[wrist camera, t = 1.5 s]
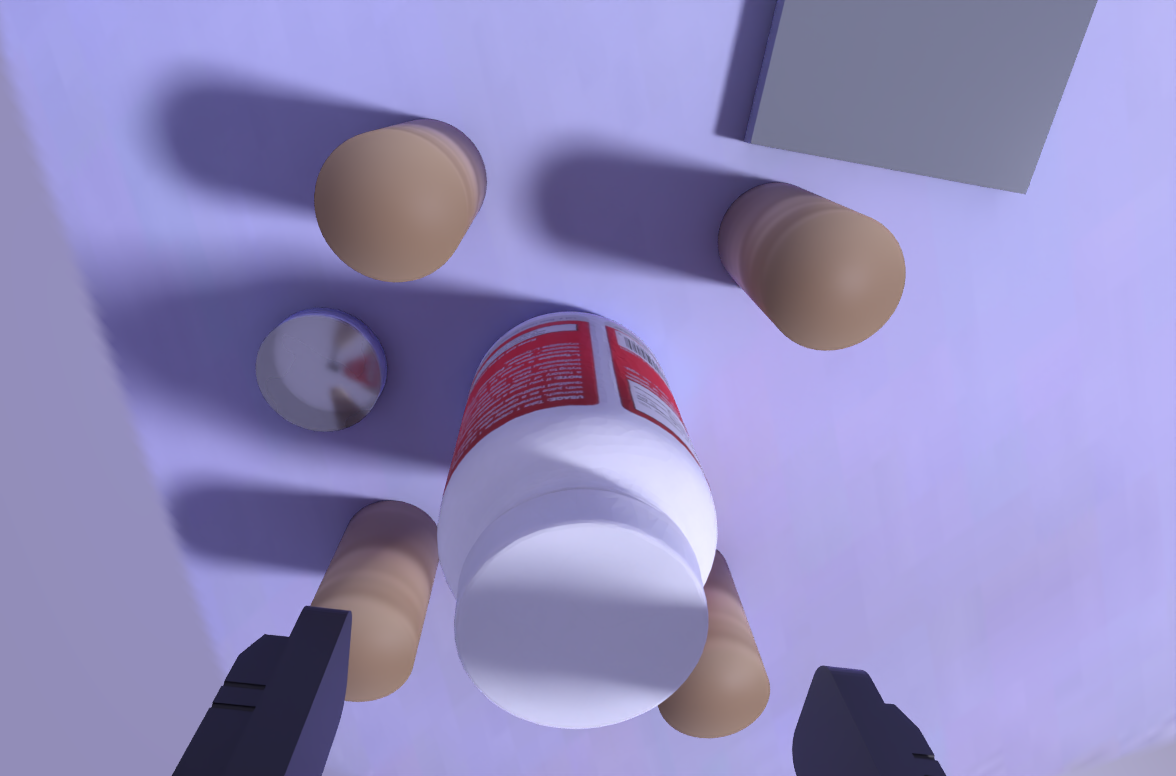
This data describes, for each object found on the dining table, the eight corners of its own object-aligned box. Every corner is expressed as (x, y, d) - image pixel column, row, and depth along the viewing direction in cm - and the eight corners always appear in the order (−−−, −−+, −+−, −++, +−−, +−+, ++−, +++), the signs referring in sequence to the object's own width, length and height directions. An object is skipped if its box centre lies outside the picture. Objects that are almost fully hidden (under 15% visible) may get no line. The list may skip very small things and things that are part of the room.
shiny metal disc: (271, 296, 23) (256, 307, 22) (393, 315, 23) (385, 327, 22) (268, 407, 24) (254, 422, 23) (384, 423, 25) (375, 439, 23)
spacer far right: (647, 533, 26) (670, 642, 21) (738, 545, 26) (783, 656, 21) (629, 610, 27) (646, 731, 22) (717, 621, 28) (753, 743, 22)
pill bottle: (451, 461, 25) (378, 728, 15) (497, 282, 23) (451, 445, 12) (634, 505, 26) (687, 786, 15) (695, 337, 24) (803, 531, 13)
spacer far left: (348, 494, 25) (295, 599, 20) (446, 507, 25) (419, 613, 20) (342, 576, 26) (290, 695, 21) (436, 587, 27) (408, 707, 21)
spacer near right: (732, 173, 22) (786, 200, 17) (839, 192, 22) (924, 225, 17) (706, 282, 23) (749, 339, 18) (809, 299, 23) (880, 360, 18)
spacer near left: (375, 109, 21) (317, 117, 16) (493, 130, 21) (474, 144, 16) (367, 226, 22) (311, 269, 17) (479, 245, 22) (457, 292, 17)
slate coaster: (824, -199, 19) (835, -211, 18) (1125, -129, 20) (1148, -138, 19) (744, 141, 22) (750, 143, 21) (1009, 190, 22) (1025, 194, 22)
